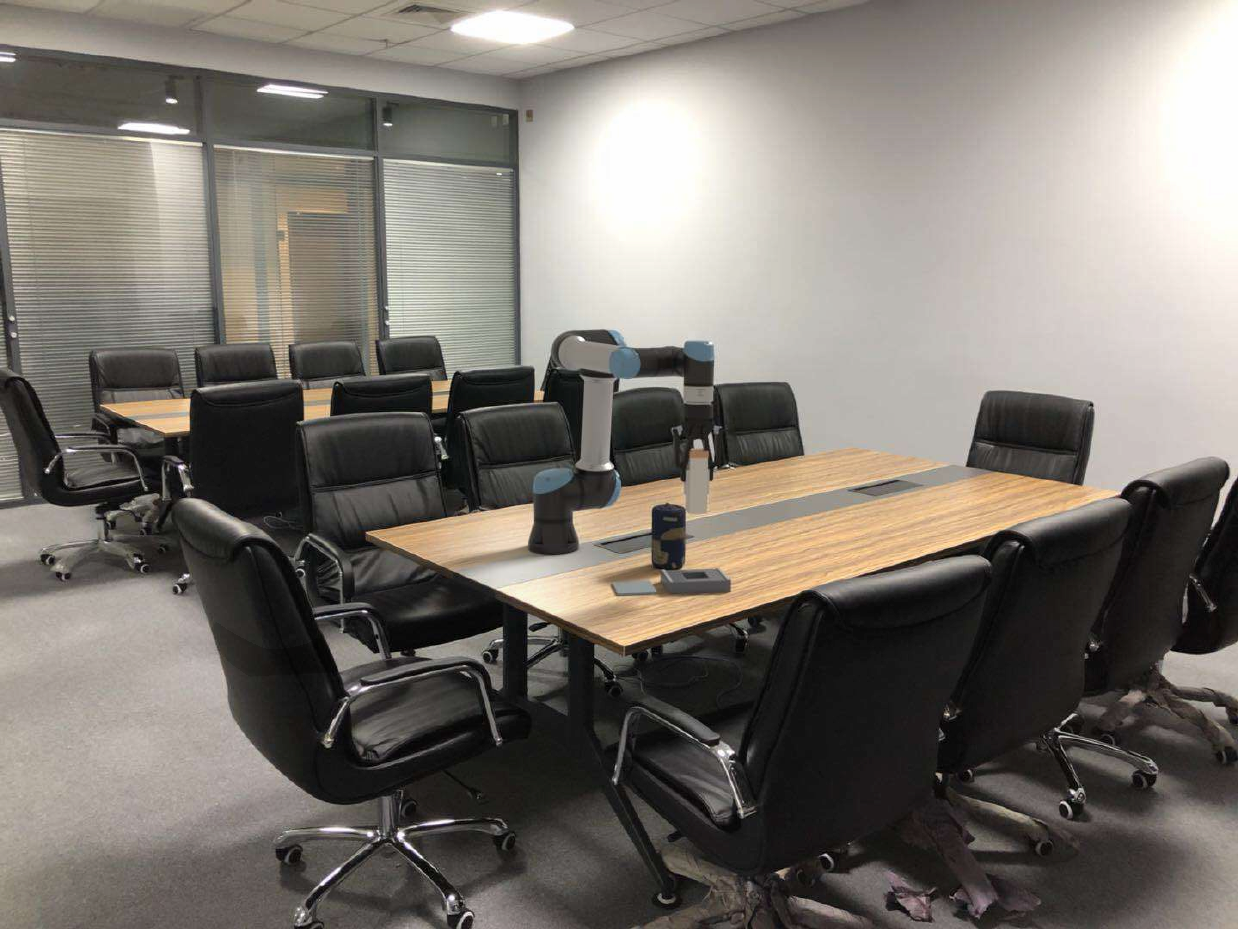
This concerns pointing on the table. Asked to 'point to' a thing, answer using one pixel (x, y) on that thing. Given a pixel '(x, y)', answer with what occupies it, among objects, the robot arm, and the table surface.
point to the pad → (634, 588)
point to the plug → (697, 481)
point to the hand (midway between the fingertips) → (696, 493)
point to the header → (695, 581)
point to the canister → (668, 536)
